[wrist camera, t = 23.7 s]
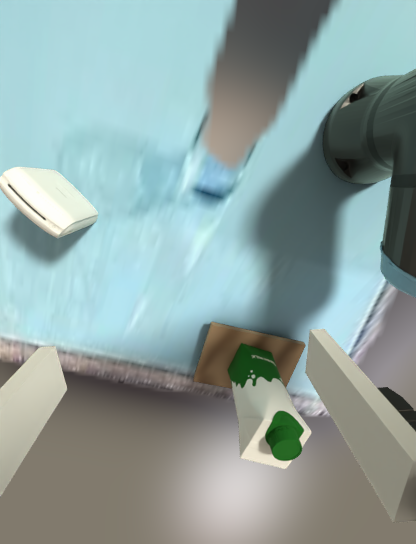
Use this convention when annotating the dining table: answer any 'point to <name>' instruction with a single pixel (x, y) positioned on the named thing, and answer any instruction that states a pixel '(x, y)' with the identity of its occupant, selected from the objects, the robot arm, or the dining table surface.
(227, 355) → the stand
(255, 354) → the soya milk
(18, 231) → the dining table surface
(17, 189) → the photo printer
